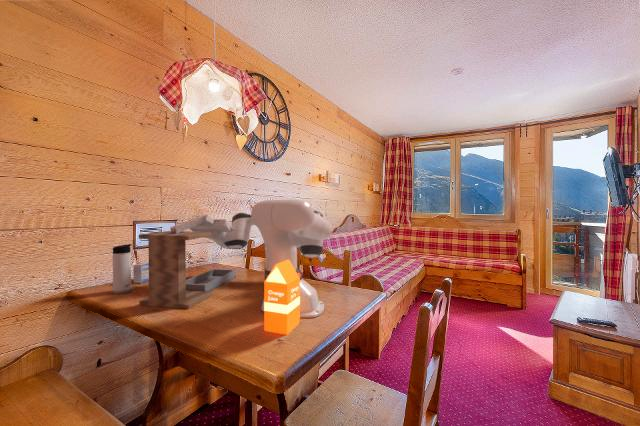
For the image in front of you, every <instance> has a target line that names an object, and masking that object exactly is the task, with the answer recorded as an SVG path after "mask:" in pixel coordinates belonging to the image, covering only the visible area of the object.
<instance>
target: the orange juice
mask: <svg viewBox="0 0 640 426" xmlns="http://www.w3.org/2000/svg"><path fill="white" fill-rule="evenodd" d="M263 282H264V283H263V285H264V295H263V300H264V312H263V313H264V316H263V317H264V318H263V319H264V322H263V323H264V325H263V326H264V328H263V329H264V330H263V331H265V332H270V333H274V334H281V335H289V334H290V333H291V332H292V331H293V330H294V329H295V328H296V327H297V326H299V324H300V319H301V317H300V277H299V276H298V274H297V272H296V271H295V269H294V267H293V266H292V264H291V262H290V261H289V259H288V260H285V261H283V262H280V263H278V264H276V265H275V266H274V268H273V269H272V271H271V273H270V274H269V276H268V277H267V279H266V280H264V281H263Z"/></svg>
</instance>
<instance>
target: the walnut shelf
mask: <svg viewBox="0 0 640 426" xmlns="http://www.w3.org/2000/svg"><path fill="white" fill-rule="evenodd" d="M208 236H212V232H193V231H186V230H184V231H182V232H179V233H177V234H175V233H171V230H165V231H157V232H150V233H148V232H147V233H142V234H141V233H140V234H138V239H139V240H143V239H144V240H148V262H149V281H148V297H146V298H144V299H141V300H139V302H138V303H139V306H143V307H144V306H145V307H157V308H159V307H160V308H171V309H183V310H185V309H186V310H190V309H192V308H193V307H194V306H197V305H198V304H200V303H202V302H204V301H205V300H207V299H208V297H209V298H211V297H212V296H213V291H210V292H206V291H189V290H186V280H187V279H186V278H187V277H186V276H187V275H186V274H187V270H186V268H187V267H186V265H187V263H186V260H187V259H186V256H187V255H186V254H187V253H186V246H187V245H186V244H187V243H186V241H191V240H196V239H201V238H205V237H208ZM201 301H202V302H201ZM196 304H197V305H196Z"/></svg>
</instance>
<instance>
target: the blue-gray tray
mask: <svg viewBox="0 0 640 426" xmlns="http://www.w3.org/2000/svg"><path fill="white" fill-rule="evenodd" d="M236 278H237V270H236V269H224V268H223V269H220V268H218V269H217V268H212V269H210V270H208V271H205V272H202V273H200V274H198V275H197V274H196V275H195V276H192V277H190V278H187V279H186V290H189V291H206V292H213V291H214V290H216V289H218V288H219V287H221V286H223V285H225V284H226V283H228V282H230V281H232V280H234V279H236Z"/></svg>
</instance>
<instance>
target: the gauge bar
mask: <svg viewBox="0 0 640 426" xmlns="http://www.w3.org/2000/svg"><path fill="white" fill-rule="evenodd" d="M198 216H199V217H197V218H196V217H194V218H190V219H191V220H189V219H188V220H189V221H188V220H186V221H184V222H181V223H178V224H176V225H174V226H170V231H171V233H175V234H177V233H179V232H182V231H186V230H190V229H189V228H191V227H194V226H196V225H198V224H201V223H203V222H205V221H204V220H203V218H204V216H208V217H209V215H208V214H202V215H198Z"/></svg>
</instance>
